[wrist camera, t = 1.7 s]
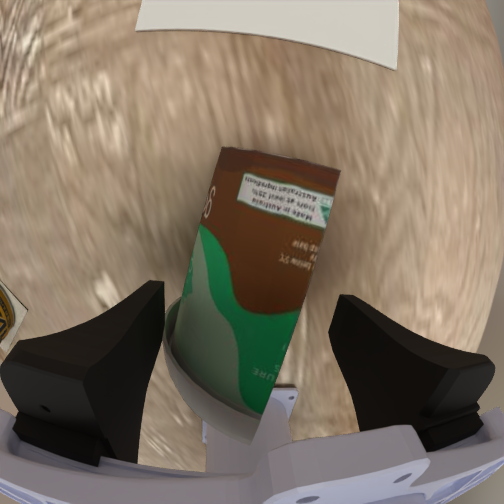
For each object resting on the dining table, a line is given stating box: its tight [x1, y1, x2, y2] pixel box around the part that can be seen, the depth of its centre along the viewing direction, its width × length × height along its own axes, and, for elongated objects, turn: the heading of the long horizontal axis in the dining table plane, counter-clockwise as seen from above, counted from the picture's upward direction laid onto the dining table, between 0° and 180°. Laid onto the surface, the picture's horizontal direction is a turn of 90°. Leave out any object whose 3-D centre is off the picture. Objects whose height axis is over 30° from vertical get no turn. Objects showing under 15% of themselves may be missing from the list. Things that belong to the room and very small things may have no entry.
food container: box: [162, 147, 341, 446], centre depth 14 cm, size 12×6×10 cm
